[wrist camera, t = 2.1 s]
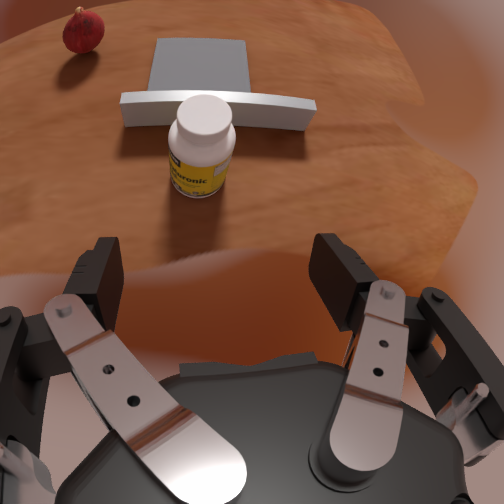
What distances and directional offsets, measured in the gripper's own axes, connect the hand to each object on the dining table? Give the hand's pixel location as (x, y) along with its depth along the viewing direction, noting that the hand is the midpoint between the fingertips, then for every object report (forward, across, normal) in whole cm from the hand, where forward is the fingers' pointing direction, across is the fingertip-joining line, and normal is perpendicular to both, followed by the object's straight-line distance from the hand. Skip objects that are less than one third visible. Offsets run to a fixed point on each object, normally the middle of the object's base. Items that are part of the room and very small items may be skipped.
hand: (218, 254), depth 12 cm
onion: (+34, +16, -12) cm, 39 cm away
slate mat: (+30, 0, -9) cm, 31 cm away
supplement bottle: (+19, 0, +3) cm, 19 cm away
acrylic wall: (+24, -2, -2) cm, 24 cm away
